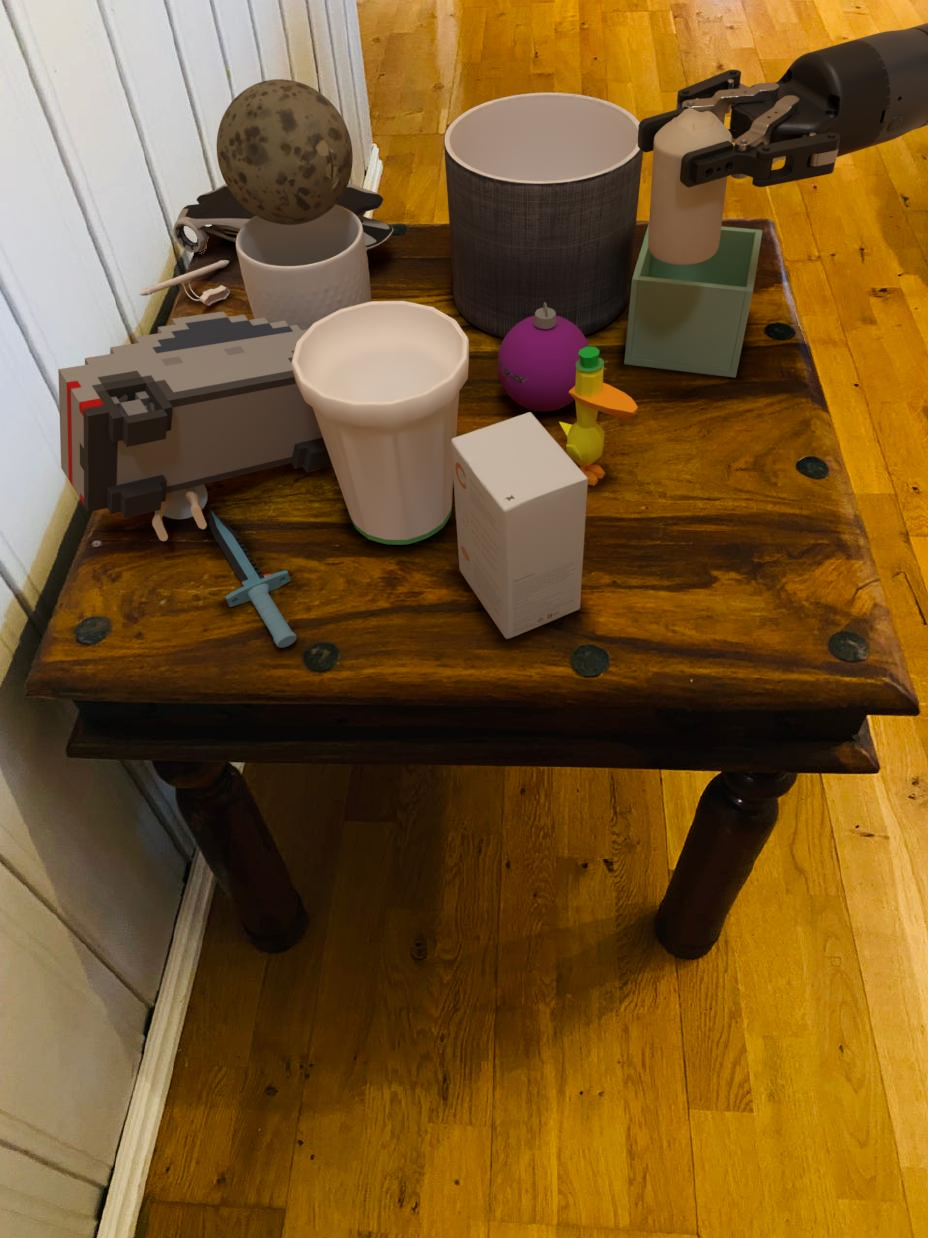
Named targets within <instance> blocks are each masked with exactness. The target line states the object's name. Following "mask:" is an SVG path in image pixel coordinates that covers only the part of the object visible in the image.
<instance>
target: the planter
mask: <svg viewBox="0 0 928 1238" xmlns="http://www.w3.org/2000/svg"><path fill="white" fill-rule="evenodd" d="M640 122H641V121H640V120H639V119H638V118H637V117H636V116H635V115H634V114H632V113H631V112H630V111H628V110H627V109H625V108H623V107H622V106H620V105H618V104H615V103H613V102H610V101H609V100H605V99H601V98H598V97H594V96H588V95H583V94H577V93H569V92H531V93H530V92H529V93H520V94H513V95H509V96H505V97H500V98H496V99H492V100H489V101H486V102H483V103H481V104H478V105H476V106H474V107H472V108H470V109H468V110H465V111H464V112H463V113H461V114H460V115H459V116H457V117H456V118H455V119H453V121H452V122H451V123H450V124H449V125H448V127H447V129H446V130H445V133H444V137H443V149H444V164H445V178H446V195H447V208H448V209H447V210H448V223H449V224H448V225H449V239H450V251H451V267H452V269H451V270H452V294H453V295H452V296H453V301H454V304H455V307H456V308H457V311H458V312H459V313H460V314H461V316H462V317H463V318H464V319H465V320H466V321H467V322H468V323H470V324H472V325H473V326H475V327H476V328H478V329H480V330H481V331H484V332H485V333H488V334H490V335H493V336H496V337H499V338H503V339H504V338H505V336H506V335H507V334H508V332H509V331H510V330H511V329H512V328H513V327H514V326H515V325H516V324H518V323H519V322H521V321H522V320H524V319H526V318H529V317H531V316H535V312H536V311H537V310H538V309H540V308H543V304H544V302H546V304H547V308H551V309H553V310H554V311H555V312H556V316H560V317H562V318H565V319H567V320H569V321H570V322H572V323H573V324H574V325H576V326H577V327H578V328H579V329H580V331H581V332H582V333H583V335H584V336H587V335H590V334H592V333H594V332H597V331H599V330H602V329H603V328H605V327H606V326H608V325H609V324H611V323H612V322H614V321H615V320H616V319H617V318H618V317H619V316H620V315H621V314H622V313H623V311H624V310H625V309H626V306H627V305H628V302H629V301H630V295H631V279H632V278H631V275H632V267H633V266H632V265H633V255H634V248H635V247H634V246H635V237H636V228H637V217H638V207H639V198H640V188H641V180H642V179H641V178H642V169H643V156H644V152H643V151H642V150H641V149H640V148H639V147H638V126H639V123H640Z"/></svg>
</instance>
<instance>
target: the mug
mask: <svg viewBox="0 0 928 1238" xmlns="http://www.w3.org/2000/svg"><path fill="white" fill-rule="evenodd" d="M235 249H236V254H237V258H238V263H239V268H240V273H241V278H242V281H243V284H244V289H245V293H246V296H247V300H248V303H249V307H250V311H251V313H252V316H253V319H259V318H265V319H266V320H267V321H268V323H273V322H279V321H285V322H286V323H287V324H288V325H289V326H293V325H297V326H298V327H299V328H300V329H301V330H306V329H309V328H310V327H311V326H312V325H313V324H314V323H315V322H317V321H319V320H321V319H323V318H325V317H326V316H328V315H330V314H332V313H334V312H336V311H338V310H340V309H343V308H347V307H351V306H355V305H359V304H363V303H367V302H371V301H372V294H371V292H372V291H371V289H372V287H371V281H370V280H371V279H370V277H371V276H370V275H371V273H370V270H369V258H368V254H367V251H368V250H367V248H366V246H365V239H364V232H363V227H362V223H361V221H360V220H359V218H358V217H357V216H356V215H355V214H354V213H353V212H351V211H350V210H348V209H346V208H344V207H342V206H339V205H335V206H334V207H333V208H332V209H331V210H329V211H328V212H327V213H326V214H324V215H323V216H321V217H319V218H317V219H315V220H313V221H310V222H307V223H303V224H296V225H284V224H277V223H273V222H270V221H267V220H264V219H262V218H260V217H258V216H254V217H253V218H251V219H250V220H249V221H247V222H246V223H245V224H244V225H243V227H242V228H241V229H240V231H239V233H238V235H237V237H236V242H235Z"/></svg>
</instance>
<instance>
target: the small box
mask: <svg viewBox="0 0 928 1238" xmlns="http://www.w3.org/2000/svg"><path fill="white" fill-rule="evenodd" d="M451 449H452V465H453V492H454V507H455V508H454V509H455V521H456V522H455V523H456V535H457V552H458V553H457V554H458V568H459V569H458V570H459V572H460V574H461V575H462V577H463V578H464V580H465V581H466V583H467V584H468V585H469V587H470V589H471V590H472V591H473V593H474V594H475V596H476V597H477V599H478V600H479V603H481V605H482V606H483V608H484V610H485V611H486V612H487V614H488V615H489V617H490V618H491V620H492V621H493V622H494V624H495V626H496V627H497V628H498V630H499V632H501V634H502V636H503V638H505V640H509V639H512V638H514V637H517V636H519V635H521V634H524V633H527V632H529V631H531V630H533V629H536V628H539V627H541V626H543V625H546V624H548V623H550V622H553V621H555V620H558V619H560V618H563V617H565V616H566V615H569V614H572V613H575V612H577V611H579V610H580V609H581V601H582V587H583V586H582V585H583V566H584V551H585V539H586V538H585V534H586V518H587V505H588V504H587V501H588V490H589V489H588V487H589V485H588V477H587V476H586V475H585V474H584V473H583V472H582V471H581V469H580V466H579V465H578V464H577V463H576V462H575V461H574V459H572V458H571V457H569V455H568V454H567V452H566V451H565V450H564V449H563V447H562V446H561V445H560V444H559V442H557V440H556V439H555V438H554V437H553V436H552V435H551V433H550V432H549V431H548V430H547V429H546V428H545V427H544V425H543V424H542V422H540V421H539V420H538V419H537V418H536V416H535V415H534V414H533V413H532V412H531V411H529V412H525V413H523V414H519V415H516V416H514V417H510V418H508V419H505V420H502V421H499V422H496V423H493V424H490V425H488V426H485V427H481V428H478V429H475V430H472V431H469V432H467V433H463V434H460V435H457V436H456V437H454V438H452V439H451Z"/></svg>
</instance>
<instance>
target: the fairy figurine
mask: <svg viewBox="0 0 928 1238" xmlns="http://www.w3.org/2000/svg"><path fill="white" fill-rule="evenodd" d="M207 502H208V491H207V488H206V485H205V484H203V485H199V486H195V487H191V488H187V489H183V490H179V491H174V492H170V493H166V500H165V501H163V502H161V510H157V511H154V516H153V518H152V521H151V523H152V524H151V526H152V527H153V529H154V531H155V534H156V536H157V537H158V539H159V540H160V541H162V542H165V541H167V540H168V538H169V535H168V533H167V530H166V527H165V524H164V521H163V517H165V518H169V519H173V520H185V519H190V518H192V517H193V519H194V522H195V523H196V525H197V527H198V529H201V530H205V529H206V528H207V526H208V524H207V522H206V521H207V520H206V518H205V516H204V513H203V509H204V508H205V506H206V504H207Z"/></svg>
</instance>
